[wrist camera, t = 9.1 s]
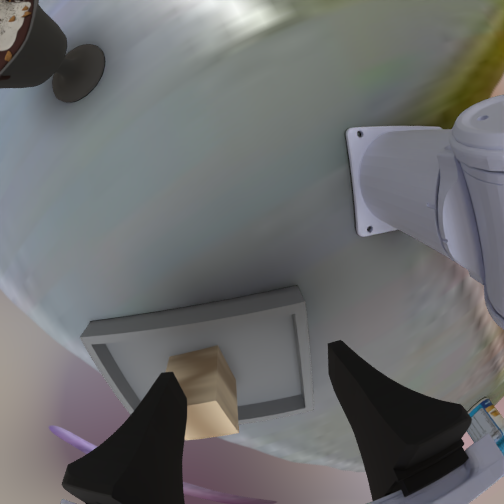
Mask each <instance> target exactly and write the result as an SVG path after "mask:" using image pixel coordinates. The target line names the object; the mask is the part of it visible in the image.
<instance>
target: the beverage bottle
mask: <svg viewBox="0 0 504 504" xmlns="http://www.w3.org/2000/svg"><path fill="white" fill-rule="evenodd" d="M468 414H469V415H470V417H471V418H472V422H471V425H470V427H469V428H468V430H467V432H468V434H469V435H470V437H471V439H472V440H473V441H474V443H475V442H476V441H478V440H479V439H481V438H482V437H483V436H484V435H486V434H490V436H491V437H492V439H493V440H494V442H495V443H496V445H497V446H498V448H499V449H500V451H501V452H502V454H503V456H504V418H503V417H502V416H501V414H500V413H499V412H498V410H497V409H496V408H495V407H494V405H493V404H492V403H491V401H490V400H489V399H488V398H484V399H482V400H480V401H479V402H478V403H477V404H475V405H474V406H473V407H472V408H471V409H470V410H469V411H468ZM502 477H503V476H502Z"/></svg>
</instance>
